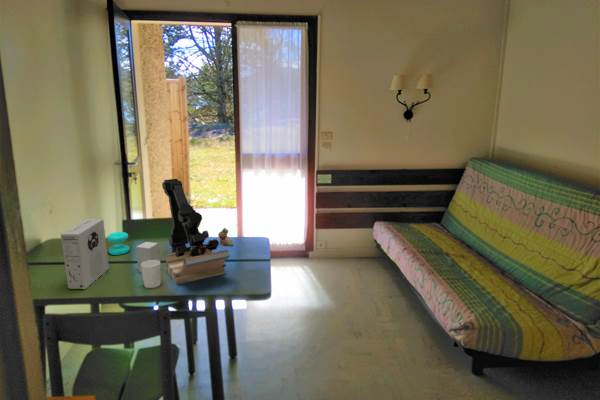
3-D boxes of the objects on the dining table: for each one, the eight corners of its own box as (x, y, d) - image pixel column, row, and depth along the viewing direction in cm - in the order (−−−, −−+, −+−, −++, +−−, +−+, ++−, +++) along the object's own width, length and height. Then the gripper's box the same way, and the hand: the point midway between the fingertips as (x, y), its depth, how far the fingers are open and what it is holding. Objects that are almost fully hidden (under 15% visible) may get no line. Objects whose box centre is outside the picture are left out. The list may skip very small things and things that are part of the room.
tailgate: (180, 273, 186) (184, 258, 177) (221, 264, 196) (227, 249, 187) (181, 279, 185) (186, 264, 175) (223, 270, 195) (229, 255, 185)
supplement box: (161, 268, 204) (159, 242, 201) (151, 274, 197) (149, 248, 194) (148, 265, 206) (146, 241, 203) (138, 271, 200) (135, 246, 196)
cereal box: (93, 269, 202) (87, 218, 196) (109, 269, 202) (103, 218, 196) (68, 290, 181) (60, 233, 175) (85, 290, 181) (78, 234, 175)
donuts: (105, 233, 222) (125, 229, 228) (107, 251, 225) (127, 247, 230) (109, 238, 214) (130, 235, 220) (111, 257, 217) (131, 253, 222)
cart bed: (166, 271, 200) (164, 254, 198) (212, 261, 212) (211, 245, 209) (177, 286, 185) (175, 267, 183) (226, 274, 197) (225, 257, 195)
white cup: (145, 281, 190) (143, 260, 188) (163, 280, 191) (162, 259, 188) (140, 289, 182) (138, 267, 180) (159, 288, 183) (157, 266, 181)
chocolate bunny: (226, 241, 240) (225, 224, 237) (234, 245, 234) (233, 227, 232) (217, 243, 236) (217, 226, 234) (225, 247, 231) (224, 229, 228)
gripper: (175, 228, 184) (185, 261, 178) (216, 222, 193) (227, 252, 187) (171, 240, 192) (180, 272, 186) (211, 233, 202) (221, 263, 196)
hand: (202, 264), depth 188 cm, fingers closed, pressing on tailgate
